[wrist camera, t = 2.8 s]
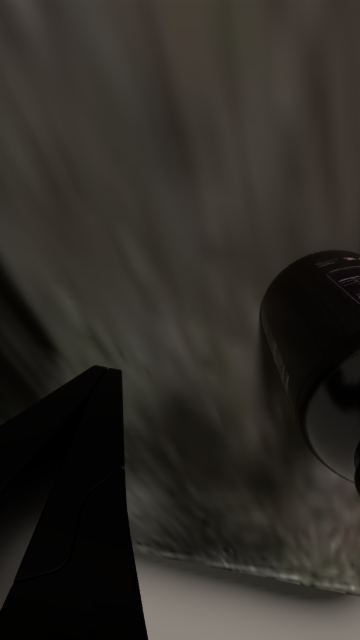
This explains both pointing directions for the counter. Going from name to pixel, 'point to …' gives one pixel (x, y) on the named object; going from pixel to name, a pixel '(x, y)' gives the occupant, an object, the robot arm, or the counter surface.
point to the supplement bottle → (320, 353)
